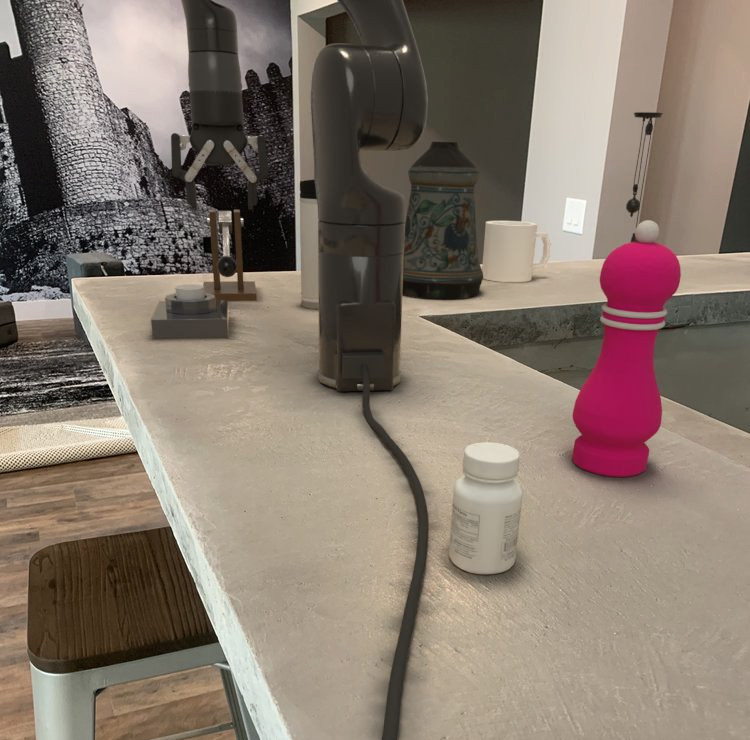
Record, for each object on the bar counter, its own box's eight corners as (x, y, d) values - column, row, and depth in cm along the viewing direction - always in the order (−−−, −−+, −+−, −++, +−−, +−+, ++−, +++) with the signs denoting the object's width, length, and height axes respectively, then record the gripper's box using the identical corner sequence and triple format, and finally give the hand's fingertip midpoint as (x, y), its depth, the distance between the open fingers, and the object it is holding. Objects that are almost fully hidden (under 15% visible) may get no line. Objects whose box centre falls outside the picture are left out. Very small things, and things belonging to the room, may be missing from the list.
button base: (228, 338, 105) (226, 305, 103) (153, 339, 103) (149, 306, 101) (228, 318, 116) (227, 288, 114) (161, 319, 115) (158, 288, 113)
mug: (534, 273, 163) (539, 220, 158) (555, 281, 154) (561, 225, 150) (474, 274, 160) (478, 220, 156) (492, 282, 151) (497, 225, 147)
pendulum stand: (256, 301, 129) (252, 214, 123) (201, 301, 127) (195, 213, 122) (255, 288, 140) (251, 208, 134) (204, 288, 138) (198, 207, 132)
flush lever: (237, 281, 123) (236, 265, 121) (217, 281, 123) (216, 265, 120) (235, 224, 131) (234, 208, 128) (216, 224, 130) (214, 208, 128)
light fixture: (600, 267, 173) (622, 112, 160) (634, 267, 175) (659, 113, 161) (620, 274, 164) (646, 111, 151) (656, 274, 166) (685, 112, 153)
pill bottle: (507, 544, 53) (519, 439, 49) (521, 576, 49) (534, 465, 46) (444, 543, 53) (452, 438, 49) (452, 576, 49) (461, 464, 45)
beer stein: (431, 303, 130) (439, 141, 120) (365, 285, 145) (367, 140, 134) (500, 294, 139) (514, 143, 129) (432, 279, 154) (439, 141, 143)
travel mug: (336, 311, 123) (336, 176, 114) (296, 308, 124) (294, 174, 115) (345, 304, 128) (346, 174, 120) (307, 301, 129) (305, 173, 121)
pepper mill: (588, 442, 71) (622, 214, 63) (664, 462, 67) (713, 221, 59) (551, 464, 66) (584, 219, 58) (632, 487, 62) (679, 227, 53)
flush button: (204, 302, 106) (203, 289, 106) (175, 302, 106) (174, 289, 105) (205, 296, 110) (204, 284, 109) (177, 296, 109) (176, 284, 109)
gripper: (163, 86, 107) (173, 210, 113) (265, 89, 109) (270, 211, 116) (167, 90, 113) (177, 207, 120) (264, 93, 116) (268, 207, 122)
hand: (223, 208), depth 118 cm, fingers open, 8 cm apart
